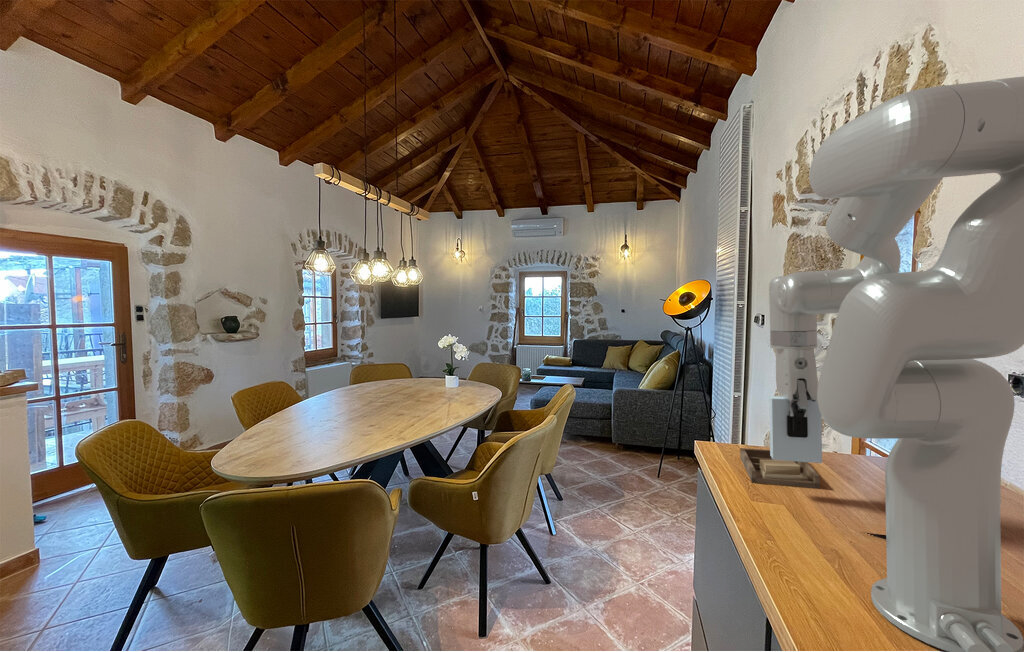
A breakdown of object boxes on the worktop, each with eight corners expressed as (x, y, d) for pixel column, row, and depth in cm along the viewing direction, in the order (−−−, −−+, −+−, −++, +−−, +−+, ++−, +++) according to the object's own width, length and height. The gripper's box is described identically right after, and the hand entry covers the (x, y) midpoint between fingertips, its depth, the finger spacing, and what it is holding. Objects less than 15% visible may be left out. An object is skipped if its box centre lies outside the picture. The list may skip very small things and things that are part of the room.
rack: (820, 493, 84) (819, 476, 84) (752, 487, 88) (751, 470, 88) (798, 466, 98) (798, 451, 98) (740, 462, 102) (740, 448, 102)
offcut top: (800, 474, 87) (799, 466, 87) (765, 473, 88) (765, 465, 88) (792, 468, 90) (792, 460, 90) (759, 467, 91) (759, 459, 91)
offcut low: (803, 484, 86) (803, 476, 86) (764, 481, 89) (764, 473, 88) (798, 478, 89) (798, 469, 89) (760, 475, 92) (760, 467, 92)
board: (822, 463, 79) (821, 400, 79) (773, 459, 82) (772, 398, 81) (817, 458, 81) (817, 397, 81) (770, 455, 84) (769, 396, 84)
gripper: (831, 343, 72) (833, 449, 73) (803, 336, 87) (805, 424, 88) (781, 344, 74) (783, 446, 75) (762, 336, 89) (764, 422, 90)
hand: (795, 433), depth 81 cm, fingers closed on board, 2 cm apart
